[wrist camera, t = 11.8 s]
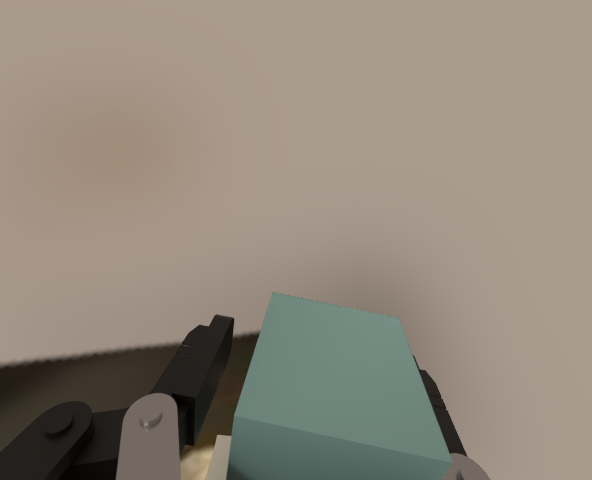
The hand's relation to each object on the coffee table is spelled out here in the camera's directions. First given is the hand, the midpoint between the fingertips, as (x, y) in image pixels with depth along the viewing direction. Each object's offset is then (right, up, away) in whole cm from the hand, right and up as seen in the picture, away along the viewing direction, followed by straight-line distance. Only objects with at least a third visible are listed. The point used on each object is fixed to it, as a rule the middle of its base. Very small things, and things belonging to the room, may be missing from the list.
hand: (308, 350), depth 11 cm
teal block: (-1, -8, +1) cm, 8 cm away
